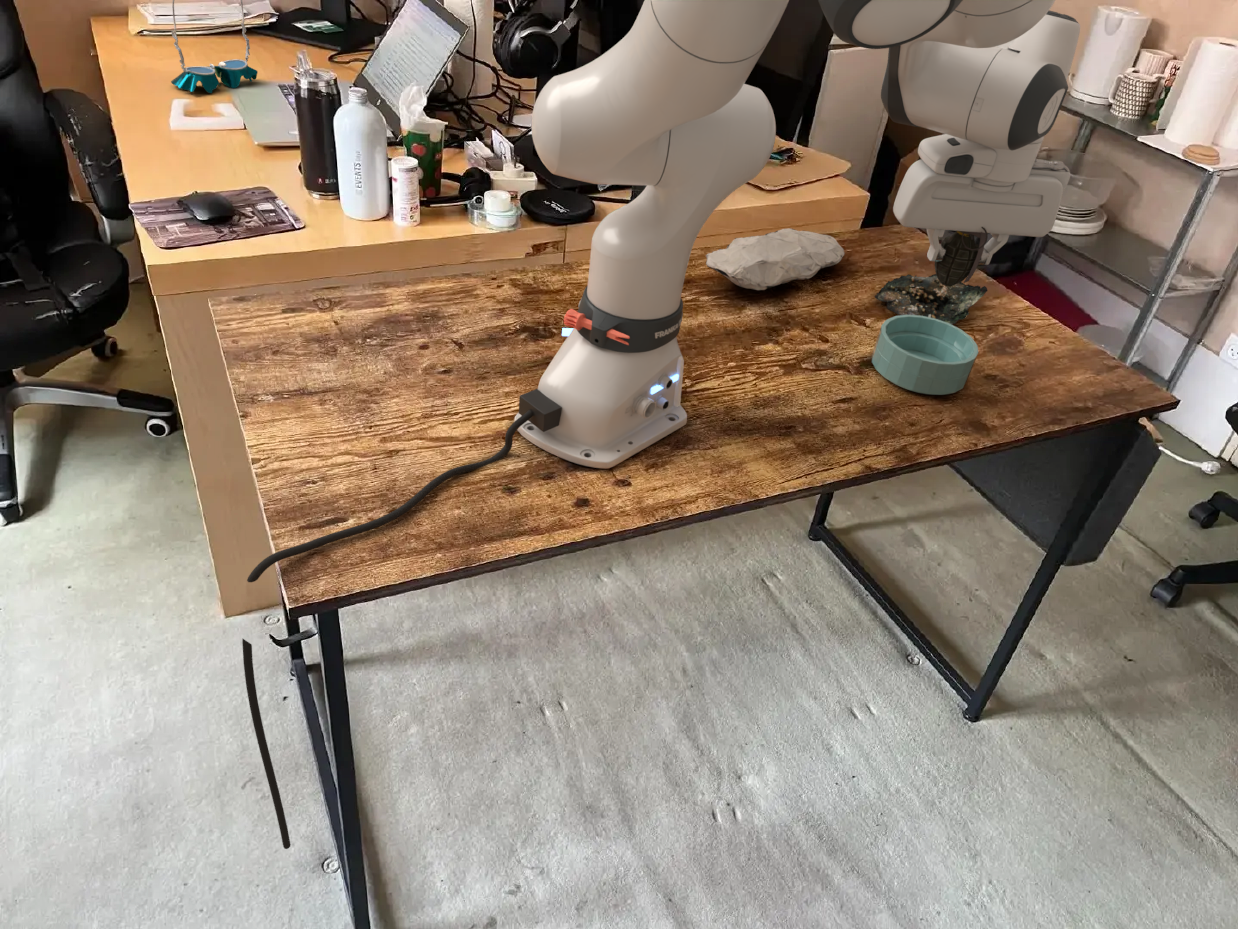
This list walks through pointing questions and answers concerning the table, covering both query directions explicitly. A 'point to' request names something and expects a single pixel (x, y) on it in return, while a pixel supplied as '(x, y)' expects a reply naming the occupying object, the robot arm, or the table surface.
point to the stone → (775, 258)
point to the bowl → (924, 354)
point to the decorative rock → (929, 297)
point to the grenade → (960, 257)
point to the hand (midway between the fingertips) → (956, 261)
